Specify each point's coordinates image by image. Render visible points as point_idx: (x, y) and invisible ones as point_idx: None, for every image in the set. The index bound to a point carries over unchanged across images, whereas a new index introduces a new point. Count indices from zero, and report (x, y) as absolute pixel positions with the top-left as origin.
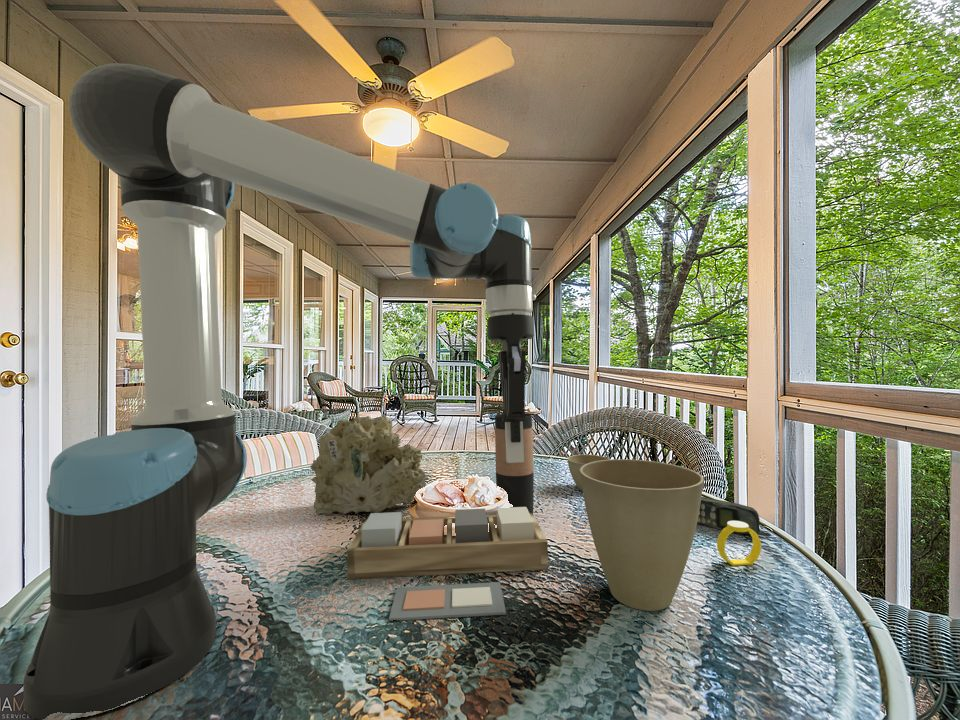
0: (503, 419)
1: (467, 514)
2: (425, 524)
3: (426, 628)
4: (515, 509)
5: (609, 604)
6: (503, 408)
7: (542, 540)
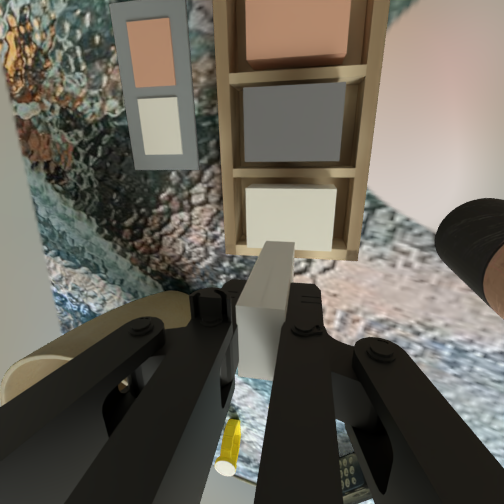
0: (191, 296)
1: (306, 116)
2: (317, 3)
3: (104, 67)
4: (318, 227)
5: (161, 281)
6: (395, 366)
7: (230, 248)
